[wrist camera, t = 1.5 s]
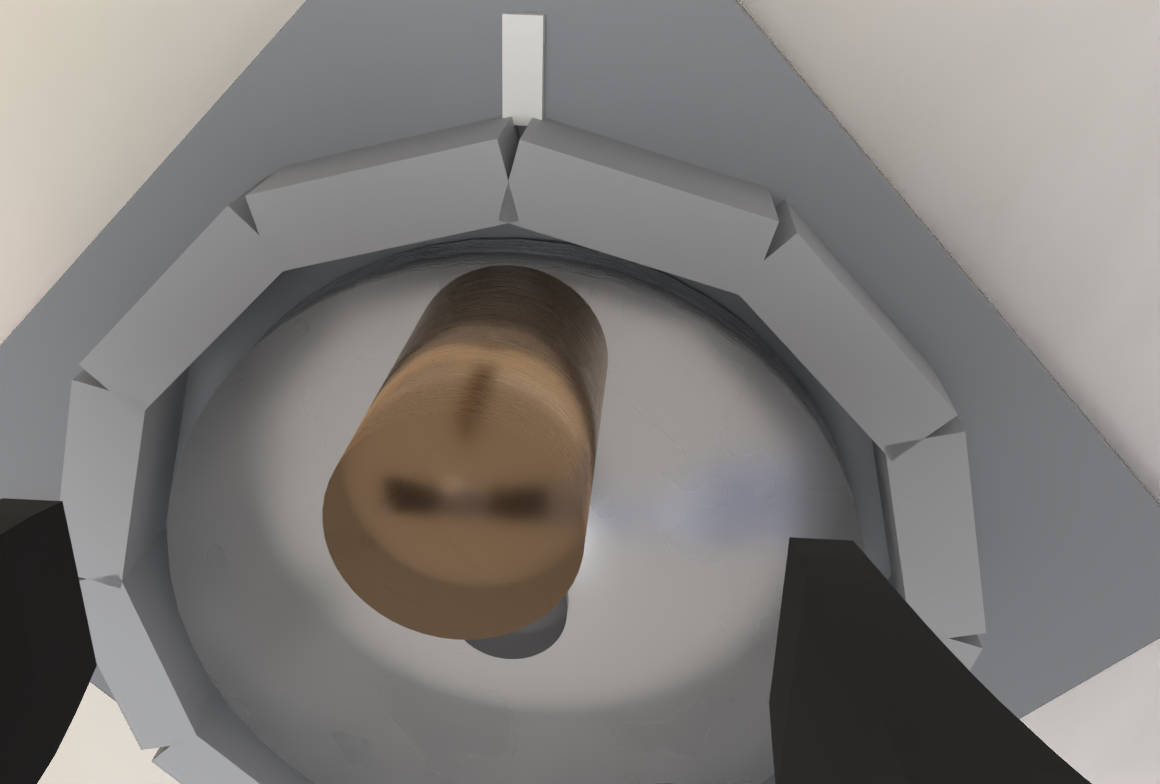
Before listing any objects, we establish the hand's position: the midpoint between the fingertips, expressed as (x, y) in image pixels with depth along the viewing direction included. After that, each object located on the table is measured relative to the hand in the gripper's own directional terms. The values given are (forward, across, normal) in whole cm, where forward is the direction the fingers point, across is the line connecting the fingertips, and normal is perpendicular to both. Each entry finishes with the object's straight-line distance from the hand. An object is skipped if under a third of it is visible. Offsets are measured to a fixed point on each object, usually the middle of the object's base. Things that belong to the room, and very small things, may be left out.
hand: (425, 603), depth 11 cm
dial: (+8, 0, +5) cm, 9 cm away
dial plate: (+10, 0, +5) cm, 11 cm away
